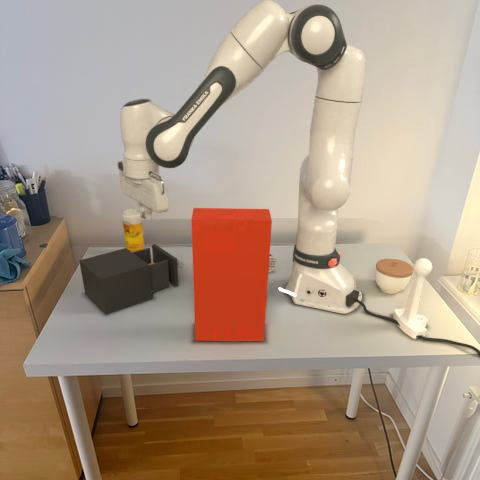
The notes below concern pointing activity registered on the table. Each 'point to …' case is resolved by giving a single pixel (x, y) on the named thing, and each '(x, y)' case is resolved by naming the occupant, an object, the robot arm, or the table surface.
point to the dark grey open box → (116, 280)
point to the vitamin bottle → (133, 230)
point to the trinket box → (392, 275)
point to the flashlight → (272, 263)
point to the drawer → (161, 267)
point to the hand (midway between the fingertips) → (146, 218)
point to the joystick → (414, 303)
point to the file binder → (230, 273)
